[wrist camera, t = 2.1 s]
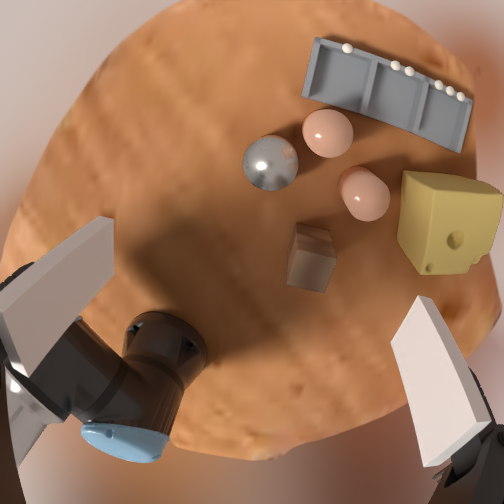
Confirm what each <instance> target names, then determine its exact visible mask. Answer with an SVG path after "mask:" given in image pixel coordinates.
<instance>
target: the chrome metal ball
mask: <svg viewBox="0 0 504 504" xmlns="http://www.w3.org/2000/svg"><path fill="white" fill-rule="evenodd" d="M243 168H244V172H245V175H246V176H247V178H248V180H249V181H250V182H251V183H252V184H253V185H255V186H256V187H258V188H260V189H263V190H267V191H275V190H280V189H282V188H284V187H286V186H288V185H289V184H290V183H291V182H292V181H293V179H294V178H295V176H296V174H297V171H298V158H297V153H296V150H295V148H294V146H293V145H292V144H291V143H290V142H289V141H288V140H287V139H285V138H284V137H281V136H278V135H266V136H263V137H261V138H259V139H258V140H256V141H255V142H254V143H253V144H252V145H251V146H250V147H249V148H248V149H247V151H246V153H245V155H244V159H243Z"/></svg>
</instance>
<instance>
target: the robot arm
mask: <svg viewBox="0 0 504 504" xmlns="http://www.w3.org/2000/svg"><path fill="white" fill-rule="evenodd" d="M113 276H114V219H110V218H106V217H102V216H98V217H97V218H95V219H94V220H92V221H91V222H89V223H88V224H86V225H85V226H83V227H82V228H81V229H79V230H78V231H76V232H75V233H74V234H72V235H71V236H69V237H68V238H67V239H65V240H64V241H63V242H61V243H60V244H59V245H57V246H56V247H55V248H53V249H52V250H51V251H49V252H48V253H47V254H45V255H44V256H43V257H41V258H40V259H39V260H38V261H36V262H31V263H29V264H26V265H24V266H22V267H20V268H19V269H18V270H17V271H15V272H14V273H13V274H12V276H9V277H8V278H7V279H6V280H5V281H4V282H2V283H1V284H0V504H26V501H25V498H24V494H23V490H22V487H21V483H20V479H19V475H18V470H17V469H18V467H19V466H20V464H21V463H22V461H23V460H24V458H25V456H26V455H27V454H28V452H29V451H30V449H31V448H32V446H33V445H34V444H35V442H36V441H37V439H38V438H39V436H40V435H41V433H42V432H43V431H44V429H45V428H46V427H47V425H49V424H51V423H64V422H65V420H66V419H67V417H68V416H69V415H70V414H72V415H74V416H75V417H76V418H77V419H79V420H80V421H81V422H82V423H83V425H82V426H81V435H82V437H83V438H85V439H86V441H87V442H88V443H90V444H91V445H92V446H94V447H96V448H97V449H99V450H102V451H103V452H105V453H108V454H110V455H112V456H115V457H118V458H121V459H124V460H128V461H133V462H140V463H148V462H154V461H156V460H157V459H159V458H160V457H161V455H162V453H163V451H164V449H165V446H166V444H167V442H168V441H169V439H170V438H169V436H170V433H171V430H172V427H173V424H174V421H175V418H176V415H177V412H178V409H179V406H180V403H181V400H182V397H183V394H184V391H185V390H186V389H187V388H188V386H189V385H190V384H191V383H192V382H193V381H194V380H195V379H196V378H197V376H198V375H199V374H200V373H201V372H202V370H203V368H204V365H205V362H206V359H207V348H206V345H205V343H204V341H203V339H202V338H201V336H200V335H199V334H198V333H197V332H196V331H195V330H194V329H193V328H192V327H191V326H190V325H188V324H187V323H186V322H184V321H182V320H180V319H178V318H176V317H174V316H171V315H168V314H165V313H159V312H148V313H144V314H141V315H139V316H137V317H136V318H134V320H133V321H132V322H131V324H130V325H129V327H128V328H127V330H126V333H125V337H124V343H123V349H122V356H121V357H120V356H119V355H118V354H117V353H116V352H114V351H113V350H112V349H111V348H110V347H109V346H108V345H107V344H106V343H105V342H104V341H103V340H102V339H101V338H100V337H99V336H98V335H97V334H96V333H95V332H94V331H93V330H92V329H91V328H90V327H89V326H88V325H87V324H86V323H85V322H84V320H83V317H82V316H79V314H80V313H81V312H82V311H83V310H84V308H85V307H86V306H87V305H88V304H89V303H90V301H91V300H92V299H93V298H94V297H95V296H96V295H97V294H98V292H99V291H100V290H101V289H102V288H103V287H104V286H105V285H106V283H107V282H108V281H109V280H110V279H111V278H112V277H113ZM391 345H392V348H393V351H394V354H395V357H396V361H397V364H398V367H399V371H400V374H401V377H402V381H403V384H404V388H405V391H406V395H407V399H408V402H409V406H410V410H411V414H412V417H413V422H414V426H415V430H416V434H417V439H418V443H419V448H420V452H421V458H422V462H423V467H427V466H436V465H440V464H441V463H443V462H444V461H445V460H446V459H448V458H449V457H451V461H452V463H451V464H450V465H448V466H447V467H445V468H444V469H443V470H441V471H440V472H438V473H437V474H436V475H435V476H434V477H433V478H432V479H434V480H435V479H436V478H438V477H439V476H440V475H443V476H442V478H441V479H440V480H438V481H437V482H438V483H439V484H438V486H437V488H436V490H435V492H434V494H433V496H432V497H431V499H430V501H429V503H428V504H504V425H503V424H498V425H497V424H496V422H495V419H494V416H493V414H492V411H491V409H490V406H489V404H488V402H487V399H486V397H485V396H484V392H483V390H482V388H480V383H479V381H478V379H477V377H476V375H475V374H474V373H473V371H472V370H471V369H470V368H469V367H468V366H467V363H466V361H465V359H464V357H463V355H462V353H461V351H460V349H459V347H458V345H457V344H456V342H455V340H454V338H453V336H452V334H451V332H450V330H449V329H448V327H447V325H446V323H445V321H444V320H443V318H442V316H441V314H440V312H439V311H438V309H437V307H436V306H435V304H434V302H433V300H432V299H431V298H428V297H424V296H420V295H418V296H417V298H416V300H415V301H414V303H413V305H412V307H411V309H410V310H409V312H408V314H407V316H406V317H405V319H404V321H403V323H402V324H401V326H400V328H399V329H398V331H397V333H396V334H395V336H394V338H393V339H392V341H391Z"/></svg>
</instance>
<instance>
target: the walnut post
mask: <svg viewBox="0 0 504 504" xmlns="http://www.w3.org/2000/svg"><path fill="white" fill-rule="evenodd" d="M336 262H337V256H336V252H335V249H334V245H333V242H332V239H331V235H330V232H329V231H328V230H324V229H321V228H317V227H313V226H309V225H305V224H301V223H297V222H296V224H295V228H294V231H293V235H292V238H291V242H290V245H289V249H288V252H287V277H286V285H290V286H294V287H299V288H303V289H307V290H312V291H316V292H321V293H325V290H326V288H327V285H328V283H329V280H330V278H331V275H332V272H333V270H334V267H335V264H336Z"/></svg>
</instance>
